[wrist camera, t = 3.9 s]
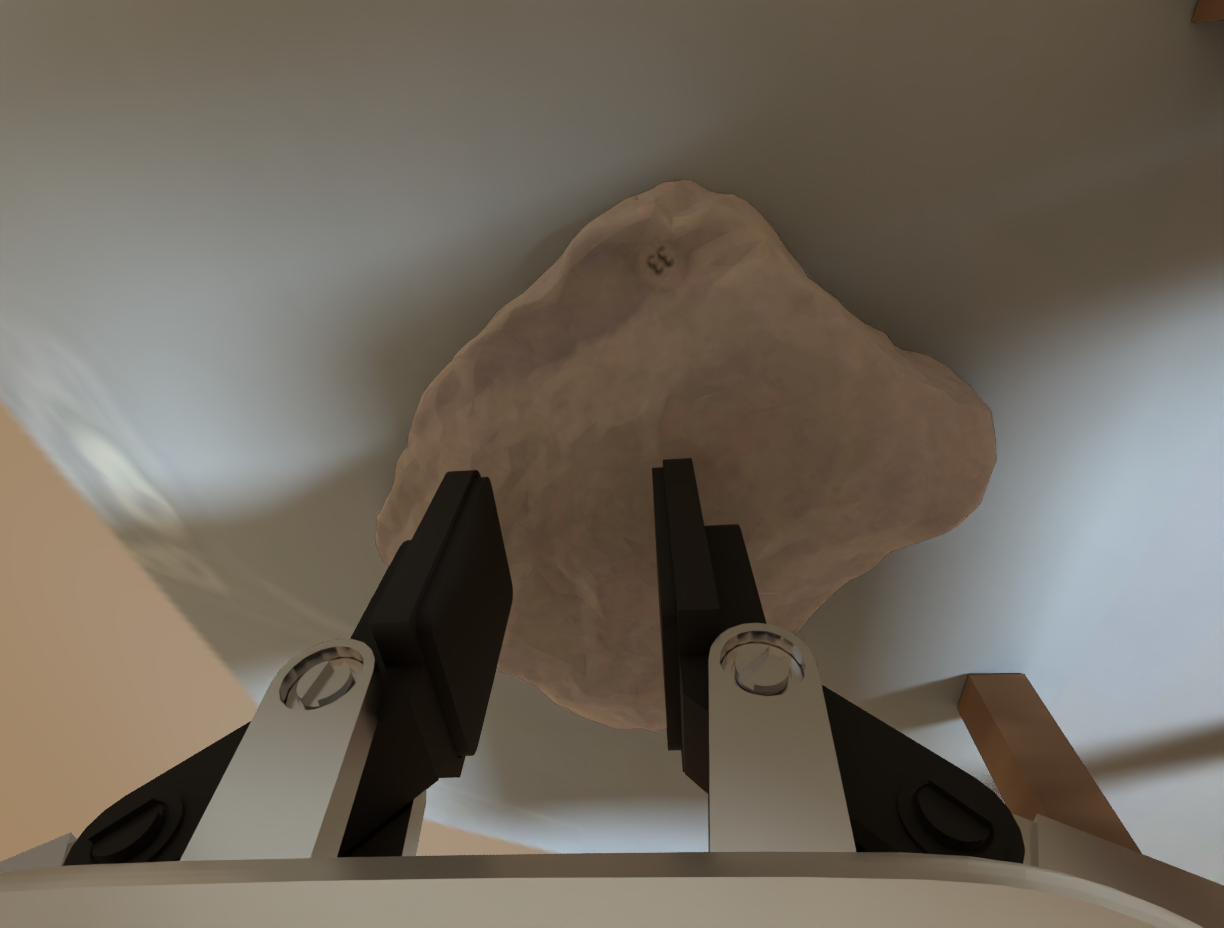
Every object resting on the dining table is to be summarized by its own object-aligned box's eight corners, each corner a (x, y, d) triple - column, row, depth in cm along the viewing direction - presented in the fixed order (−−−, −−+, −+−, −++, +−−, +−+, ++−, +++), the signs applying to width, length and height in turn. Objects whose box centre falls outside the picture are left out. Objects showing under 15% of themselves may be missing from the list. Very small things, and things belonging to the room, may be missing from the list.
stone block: (408, 475, 18) (663, 671, 19) (303, 556, 14) (641, 806, 15) (656, 108, 13) (982, 395, 14) (616, 54, 9) (1091, 473, 10)
